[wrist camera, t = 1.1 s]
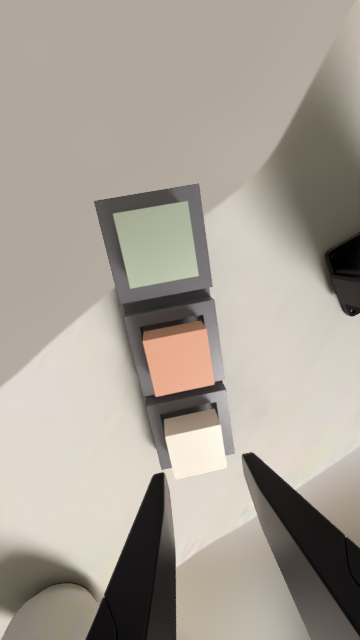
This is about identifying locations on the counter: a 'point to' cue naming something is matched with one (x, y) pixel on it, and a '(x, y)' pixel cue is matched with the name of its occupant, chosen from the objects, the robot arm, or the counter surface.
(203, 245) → the button bank
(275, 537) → the robot arm
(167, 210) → the sage button
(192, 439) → the cream button
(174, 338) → the terracotta button
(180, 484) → the counter surface
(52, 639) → the teacup
